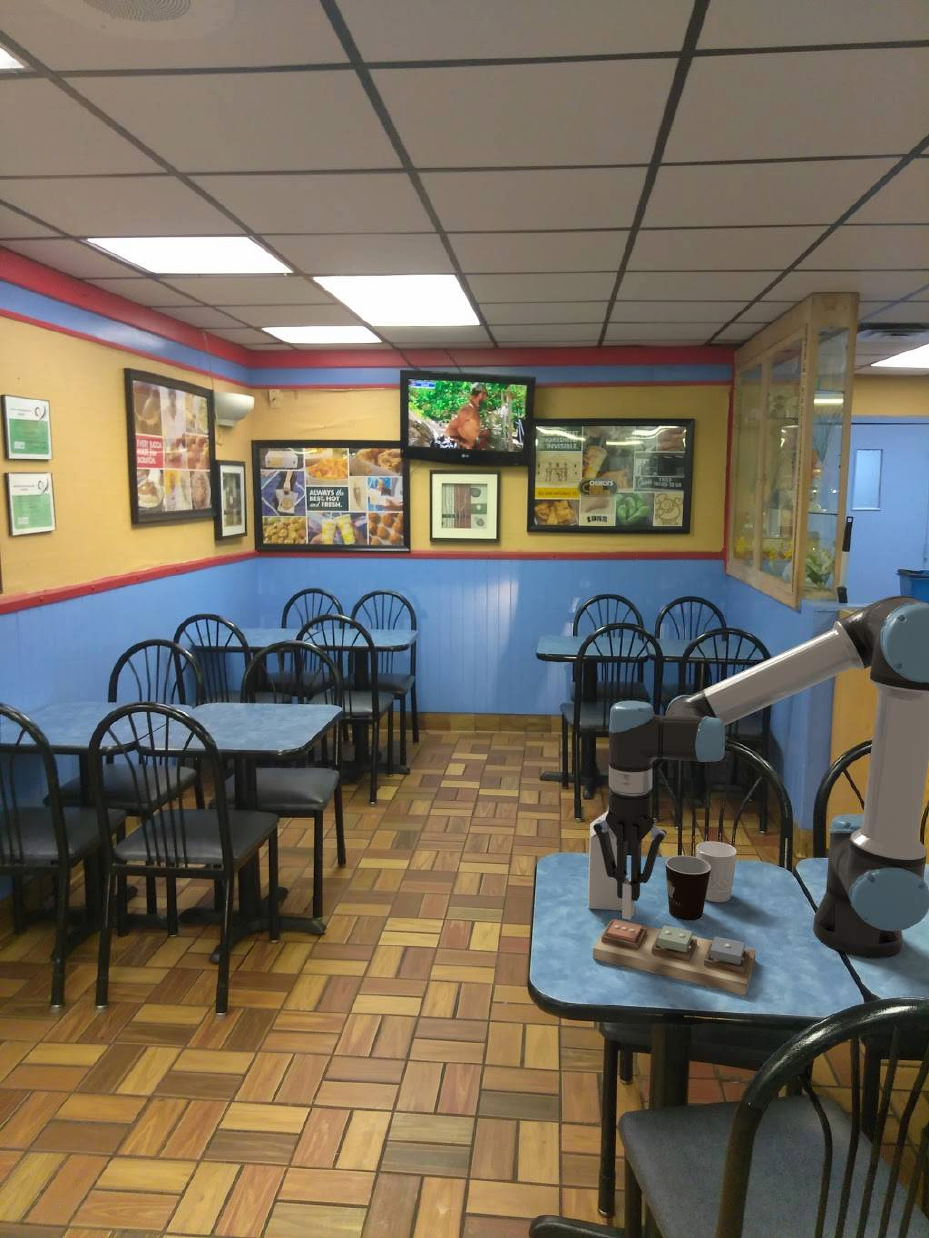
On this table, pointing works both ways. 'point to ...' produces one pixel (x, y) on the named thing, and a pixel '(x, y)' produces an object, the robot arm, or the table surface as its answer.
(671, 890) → the coffee mug
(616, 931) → the key three dots
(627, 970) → the table surface
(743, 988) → the keypad board
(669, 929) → the key two dots
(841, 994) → the table surface
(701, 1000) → the table surface
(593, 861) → the milk carton
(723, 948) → the key one dot
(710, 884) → the white cup
